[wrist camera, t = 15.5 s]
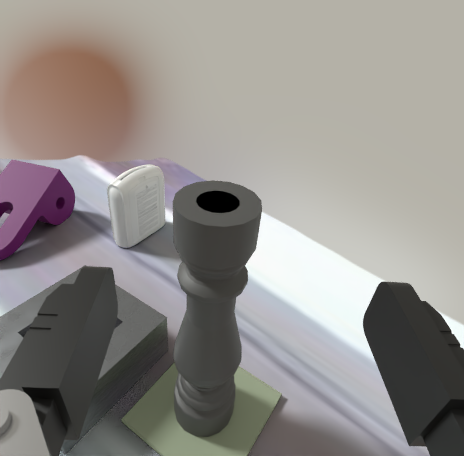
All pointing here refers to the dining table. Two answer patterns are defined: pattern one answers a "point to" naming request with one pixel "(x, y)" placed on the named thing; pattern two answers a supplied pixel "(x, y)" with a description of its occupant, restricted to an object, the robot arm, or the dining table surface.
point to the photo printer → (136, 204)
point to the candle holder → (211, 298)
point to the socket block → (118, 354)
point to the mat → (193, 447)
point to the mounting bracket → (31, 201)
